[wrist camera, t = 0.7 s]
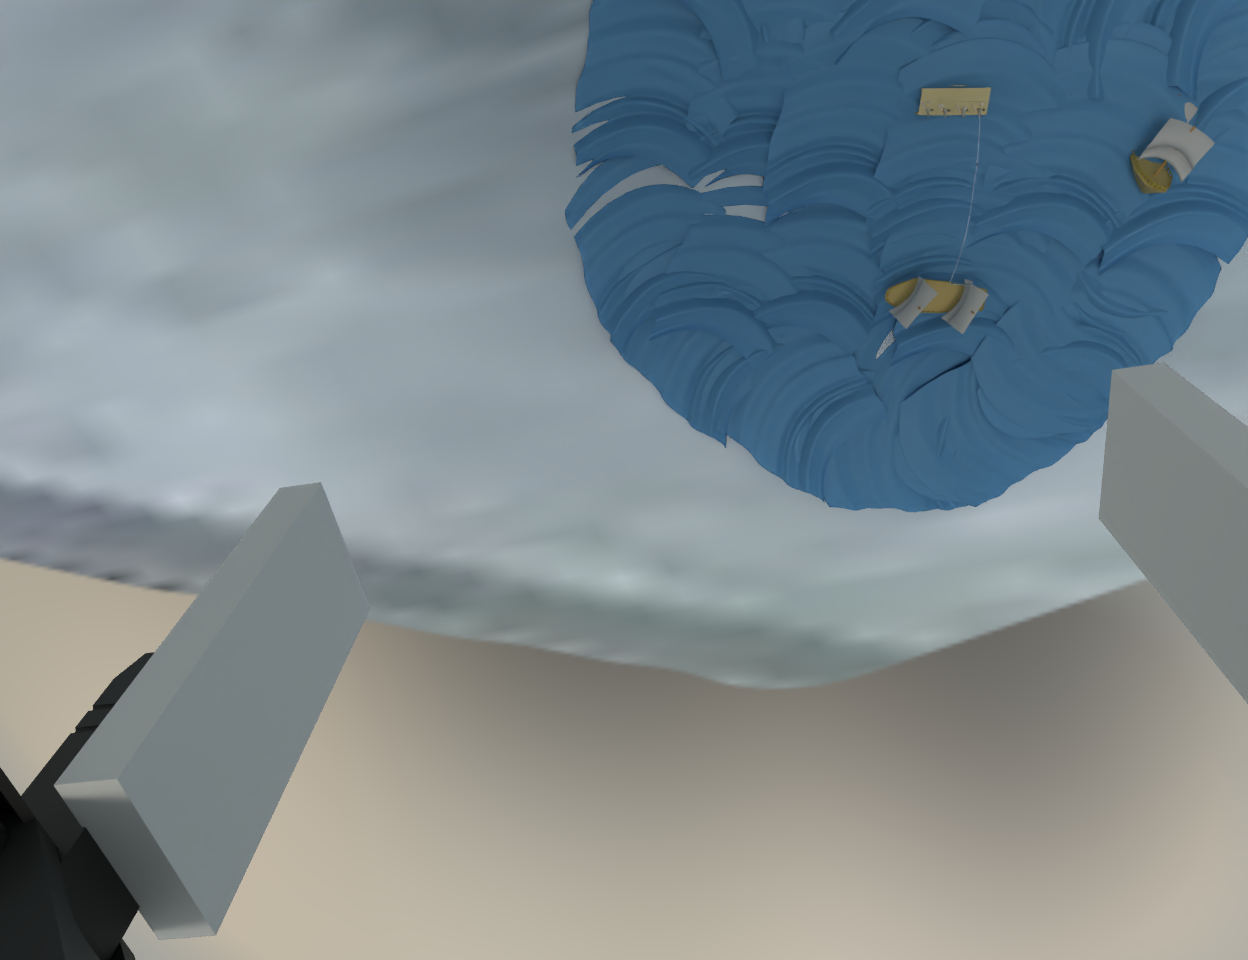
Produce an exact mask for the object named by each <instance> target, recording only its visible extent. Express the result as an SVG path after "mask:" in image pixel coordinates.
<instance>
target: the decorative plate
mask: <svg viewBox="0 0 1248 960" xmlns="http://www.w3.org/2000/svg"><path fill="white" fill-rule="evenodd" d="M623 96H626V97H625V98H622V99H618V100H615V101H613V102H611V103H609V104H606V105H604V106H602V107H600V108H598V109H596V110H594V111H592V112H591V113H590V114H588V115H587V116H586V117H584V118H583V119H582V120H580V121H579V122H578V123H577V124H575V125H574V126H573V128H572V133H574V132H576V131H578V130H581V129H583V128H585V127H587V126H590V125H592V124H595V123H598V122H602V121H606V120H609V121H608V122H607V123H605V124H603V125H602V126H600V127H598V128H596V129H594V130H593V131H592V132H590V133H589V134H588V135H586V136H585V137H584V138H582V139H581V140H580V141H578V142H577V143H576V144H574V148H575V151H576V156H577V162H576V166H577V165H580V164H583V163H585V162H588V161H590V160H593V161H592V162H591V163H590V164H589V165H588V166H587V167H586V168H585V169H584V170H583V171H582V172H581V173H580V174H582V173H583V172H584V171H585V170H586V171H587V170H588V169H590V168H591V167H593V166H595V165H596V164H598V163H601V162H603V161H604V162H603V163H602V164H600V165H599V166H598V167H597V168H595V169H594V171H593V172H592V173H591V174H590V175H589V176H588V178H587V179H586V180H585V181H584V182H583V184H582V185H581V186H580V187H579V189H578V190H577V192H576V194H575V195H574V197H573V198H572V200H571V202H570V203H569V205H568V207H567V208H566V210H565V216H566V221H567V224H568V226H569V228H570V230H571V229H572V228H573V227H574V225H575V224H576V223H577V222H578V221H579V220H580V218H581V217H582V216H583V215H584V214H585V212H586V211H587V210H588V209H589V208H590V207H591V206H592V205H593V204H594V203H595V202H596V201H597V200H598V199H599V198H600V197H601V196H602V195H603V194H604V193H606V192H607V191H608V190H610V189H611V188H612V187H614V186H615V185H616V184H618V183H619V182H621V181H622V180H624V179H625V178H627V177H629V176H631V175H633V174H635V173H637V172H639V171H641V170H644V169H647V168H649V167H653V166H657V165H661V164H662V165H663V166H665V167H666V168H668V169H669V170H671V171H672V172H674V173H675V174H677V175H678V176H679V177H680V178H681V179H683V180H684V181H685V182H686V183H687V184H688V185H689V186H690V187H691V188H692V187H695V186H696V185H697V184H698V183H699V182H700V181H701V180H702V178H703V177H705V176H707V175H709V174H712V173H714V172H717V171H720V170H725V171H724V172H723V173H722V174H720V175H719V176H718V177H716V178H715V179H714V180H712V181H711V182H710V183H708V184H707V185H710V184H712V183H714V182H716V181H718V180H720V179H723V178H725V177H729V176H733V175H738V174H753V175H760V176H764V181H763V187H761V186H740V187H727V188H722V189H718V190H714V191H709V192H705V193H700V192H698V191H696V190H693V189H690V188H687V187H682V186H677V185H668V184H660V185H650V186H645V187H641V188H638V189H635V190H632V191H630V192H627V193H625V194H624V195H622V196H620V197H618V198H617V199H615V200H613V201H611V202H610V203H608V204H607V205H606V206H605V207H603V208H602V209H601V210H600V211H598V212H597V213H596V214H595V215H594V216H592V217H591V218H590V219H589V220H588V222H587V223H586V224H585V225H584V226H583V227H582V228H581V229H580V230H579V232H578V233H577V234H576V235H575V236H574V238H575V241H576V243H577V246H578V248H579V250H580V253H581V256H582V260H583V265H584V277H585V282H586V286H587V288H588V291H589V293H590V295H591V298H592V300H593V302H594V304H595V306H596V308H597V313H598V317H599V320H600V322H601V324H602V326H603V327H604V328H605V329H606V330H607V331H608V332H609V333H610V334H611V338H610V341H611V343H612V344H613V345H614V346H615V347H616V348H617V350H618V351H619V352H620V355H622V357H623V358H624V360H625V361H626V362H627V363H628V364H629V365H631V366H632V367H634V368H636V369H637V370H638V371H639V372H640V373H641V374H642V375H643V376H644V377H645V378H647V379H648V380H649V381H650V382H651V383H652V384H653V385H654V386H655V387H656V388H657V390H658V391H659V392H660V394H661V396H662V398H663V400H664V401H665V402H666V404H667V405H668V406H669V407H671V408H672V409H673V410H674V411H676V412H677V413H678V414H680V415H681V416H682V417H684V418H685V419H687V421H688V422H689V424H690V425H691V426H692V427H693V428H694V429H696V430H697V431H700V432H702V433H704V434H706V435H708V436H710V437H713V438H715V439H716V440H718V441H719V442H721V443H722V444H723V445H724V446H725V448H726V435H728V436H730V437H731V438H732V439H733V440H735V441H736V442H738V443H739V444H741V445H742V446H743V447H745V448H746V449H747V450H748V451H749V452H750V453H751V454H752V455H753V457H754V458H755V460H756V461H757V462H758V463H759V464H760V465H761V466H762V467H763V468H765V469H766V470H768V471H770V472H771V473H773V474H775V475H776V476H778V477H780V478H782V479H783V480H784V481H785V482H786V483H787V484H788V485H789V486H790V487H792V488H795V489H798V490H801V491H804V492H806V493H810V494H812V495H814V496H816V497H818V498H820V499H822V501H823V502H824V500H825V501H826V502H827V504H828V505H829V507H838V508H845V509H850V510H861V509H865V508H896V509H900V510H903V511H907V512H919V511H928V510H932V509H941V510H951V509H954V508H958V507H964V506H968V505H970V506H974V507H977V506H978V505H980V504H982V503H984V502H986V501H988V500H990V499H993V498H996V497H998V496H1000V495H1002V494H1003V493H1004V492H1005V491H1006V490H1007V488H1008V487H1009V486H1011V485H1012V484H1014V483H1016V482H1019V481H1021V480H1022V479H1024V478H1025V477H1026V476H1028V475H1029V474H1030V473H1032V472H1034V471H1036V470H1038V469H1041V468H1045V467H1048V466H1051V465H1053V464H1054V463H1056V462H1057V461H1058V460H1059V459H1061V458H1062V457H1063V456H1064V455H1065V454H1067V453H1068V452H1069V451H1070V450H1071V449H1072V448H1073V447H1074V446H1075V445H1076V444H1078V443H1082V442H1085V441H1087V440H1088V439H1089V438H1090V436H1091V435H1092V434H1093V433H1094V432H1095V431H1096V430H1098V429H1099V428H1101V427H1102V426H1103V424H1104V422H1105V421H1106V420H1107V419H1108V410H1109V398H1110V387H1111V376H1112V370H1115V369H1122V368H1129V367H1136V366H1143V365H1150V364H1154V362H1155V361H1156V360H1157V359H1158V358H1160V357H1161V356H1163V355H1165V354H1167V353H1169V352H1170V351H1172V349H1173V345H1174V343H1175V341H1176V340H1177V339H1178V338H1179V337H1180V336H1182V335H1183V334H1184V333H1185V332H1186V330H1187V329H1188V327H1189V326H1190V324H1191V322H1192V320H1193V318H1194V316H1195V315H1196V313H1197V312H1198V311H1199V309H1200V308H1201V307H1202V306H1203V305H1204V304H1205V302H1206V301H1207V300H1208V299H1209V298H1210V297H1211V295H1212V294H1213V292H1214V289H1215V285H1216V282H1217V279H1218V276H1219V273H1220V270H1221V266H1220V263H1219V261H1218V259H1217V257H1219V258H1220V259H1222V260H1223V261H1224V262H1226V263H1227V264H1229V263H1230V261H1231V260H1232V259H1233V258H1234V256H1235V255H1236V254H1237V253H1238V252H1239V250H1240V249H1241V247H1242V246H1243V244H1244V242H1245V241H1246V239H1247V237H1248V0H593V3H592V6H591V9H590V15H589V37H588V51H587V57H586V62H585V66H584V69H583V71H582V74H581V76H580V79H579V81H578V85H577V91H576V104H575V112H578V111H580V110H583V109H585V108H587V107H589V106H591V105H594V104H596V103H599V102H602V101H606V100H609V99H612V98H616V97H623ZM723 139H724V140H723ZM722 140H723V141H722ZM605 160H606V161H605ZM586 171H585V172H586ZM585 172H584V173H585ZM580 174H579V175H580ZM579 175H578V176H579ZM578 176H577V177H578ZM577 177H576V178H577ZM579 177H580V176H579ZM707 185H706V186H705V187H707ZM735 205H758V206H768V210H767V214H766V219H765V222H763V221H760V220H755V219H751V218H746V217H742V216H731V215H726V210H725V209H724V208H723V207H724V206H735ZM786 212H789V213H787V214H785V215H783V214H784V213H786ZM703 214H715V215H703ZM781 215H783V216H781ZM779 216H781V217H779ZM778 217H779V218H778ZM1216 256H1217V257H1216ZM893 328H894V331H893V335H894V337H895V341H894V342H893V343H892V344H891V345H890V346H889V347H888V348H887V349H886V350H885V351H884V352H883V353H882V354H881V355H880V356H879V358H877V359H876V354H877V352H878V350H879V348H880V346H881V344H882V342H883V341H884V339H885V338H886V336H887V335H888V334H889V332H890V331H891V330H892V329H893ZM824 503H825V502H824Z"/></svg>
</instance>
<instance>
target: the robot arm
mask: <svg viewBox="0 0 1248 960" xmlns="http://www.w3.org/2000/svg"><path fill="white" fill-rule="evenodd" d="M1099 519H1100V521H1101V522H1102V523H1103V524H1104V526H1105V527H1106V528H1107V529H1108V531H1109V532H1110V533H1111V534H1112V536H1113V537H1114V538H1115V539H1116V540H1117V542H1118V543H1119V544H1120V545H1121V547H1122V548H1123V549H1124V550H1125V552H1126V553H1127V554H1128V555H1129V557H1130V558H1131V559H1132V560H1133V562H1134V563H1135V564H1136V565H1137V567H1138V568H1139V569H1140V570H1141V572H1142V573H1143V574H1144V575H1145V577H1146V578H1147V579H1148V580H1149V582H1150V583H1151V584H1152V585H1153V587H1154V588H1155V589H1156V590H1157V592H1158V593H1159V594H1160V595H1161V596H1162V598H1163V599H1164V600H1165V601H1166V603H1167V604H1168V605H1169V606H1170V608H1171V609H1172V610H1173V611H1174V613H1175V614H1176V615H1177V616H1178V618H1179V619H1180V620H1181V621H1182V623H1183V624H1184V625H1185V626H1186V628H1187V629H1188V630H1189V631H1190V633H1191V634H1192V635H1193V636H1194V638H1195V639H1196V640H1197V641H1198V642H1199V644H1200V645H1201V646H1202V648H1203V649H1204V650H1205V651H1206V653H1207V654H1208V655H1209V656H1210V657H1211V659H1212V660H1213V661H1214V662H1215V664H1216V665H1217V666H1218V667H1219V669H1220V670H1221V671H1222V672H1223V673H1224V675H1225V676H1226V677H1227V679H1228V680H1229V681H1230V682H1231V684H1232V685H1233V686H1234V687H1235V689H1236V690H1237V691H1238V692H1239V694H1240V695H1241V696H1242V697H1243V699H1244V700H1245V701H1246V702H1247V704H1248V427H1247V426H1246V425H1244V424H1243V423H1242V422H1241V421H1239V420H1238V419H1237V418H1235V417H1234V416H1233V415H1231V414H1230V413H1229V412H1227V411H1226V410H1225V409H1224V408H1222V407H1221V406H1220V405H1218V404H1217V403H1216V402H1214V401H1213V400H1212V399H1211V398H1209V397H1208V396H1207V395H1205V394H1204V393H1203V392H1201V391H1200V390H1199V389H1198V388H1196V387H1195V386H1194V385H1192V384H1191V383H1190V382H1188V381H1187V380H1186V379H1185V378H1183V377H1182V376H1181V375H1179V374H1178V373H1177V372H1175V371H1174V370H1173V369H1172V368H1170V367H1169V366H1168V365H1166V364H1165V363H1157V364H1150V365H1143V366H1136V367H1129V368H1122V369H1115V370H1112V376H1111V387H1110V398H1109V410H1108V421H1107V432H1106V443H1105V455H1104V466H1103V477H1102V488H1101V500H1100V511H1099ZM369 610H370V606H369V604H368V601H367V599H366V596H365V594H364V591H363V588H362V586H361V583H360V581H359V578H358V576H357V573H356V571H355V568H354V565H353V563H352V560H351V558H350V555H349V553H348V550H347V547H346V545H345V542H344V540H343V537H342V535H341V532H340V530H339V527H338V524H337V522H336V519H335V517H334V514H333V512H332V509H331V507H330V504H329V501H328V499H327V496H326V494H325V491H324V489H323V486H322V483H321V482H320V483H313V484H305V485H298V486H291V487H284V488H280V489H279V490H278V491H277V493H276V494H275V495H274V496H273V498H272V499H271V500H270V502H269V503H268V504H267V506H266V507H265V508H264V510H263V511H262V512H261V514H260V515H259V516H258V517H257V519H256V520H255V521H254V523H253V524H252V525H251V527H250V528H249V529H248V531H247V532H246V533H245V535H244V536H243V537H242V539H241V540H240V541H239V542H238V544H237V545H236V546H235V548H234V549H233V550H232V552H231V553H230V554H229V556H228V557H227V558H226V560H225V561H224V562H223V563H222V565H221V566H220V567H219V569H218V570H217V571H216V573H215V574H214V575H213V577H212V578H211V579H210V581H209V582H208V583H207V584H206V586H205V587H204V588H203V590H202V591H201V592H200V594H199V595H198V596H197V598H196V599H195V600H194V602H193V603H192V604H191V606H190V607H189V608H188V609H187V611H186V612H185V613H184V615H183V616H182V617H181V619H180V620H179V621H178V623H177V624H176V625H175V627H174V628H173V629H172V630H171V632H170V633H169V634H168V636H167V637H166V639H165V640H164V641H163V642H162V644H161V645H160V646H159V648H158V649H157V650H156V652H154V653H146V654H144V655H143V656H142V657H141V658H139V659H138V660H137V661H136V662H134V663H133V664H132V665H130V666H129V667H128V668H127V669H126V670H124V671H123V672H122V673H120V674H119V675H118V676H117V677H115V678H114V679H113V681H112V682H111V683H110V684H109V686H108V687H107V688H106V689H105V691H104V692H103V693H102V694H101V696H100V697H99V699H98V700H97V701H96V702H95V704H94V705H93V711H88V712H87V713H86V715H85V716H84V717H83V718H82V720H81V721H80V722H79V724H78V725H77V726H76V727H75V728H76V732H75V733H71V734H70V735H69V736H68V737H67V739H66V740H65V741H64V743H63V744H62V745H61V746H60V748H59V749H58V750H57V751H56V753H55V754H54V755H53V757H52V758H51V759H50V760H49V761H48V763H47V764H46V765H45V767H44V768H43V769H42V771H41V772H40V773H39V774H38V776H37V777H36V778H35V779H34V781H33V782H32V783H31V784H30V786H29V787H28V788H27V789H26V791H25V792H24V793H23V794H22V796H20V795H19V793H18V792H17V790H16V789H15V787H14V786H13V785H12V783H11V782H10V780H9V779H8V778H7V776H6V775H5V773H4V772H3V771H2V769H1V768H0V960H135V957H134V955H133V953H132V952H131V950H130V949H129V947H128V946H127V945H126V943H125V942H124V940H123V939H122V937H123V936H124V934H125V932H126V930H127V929H128V927H129V925H130V923H131V921H132V920H133V918H134V916H135V915H136V913H137V911H138V910H139V911H140V913H141V914H142V916H143V917H144V919H145V920H146V922H147V923H148V925H149V926H150V927H151V929H152V931H153V932H154V933H155V935H156V936H157V938H158V939H159V940H163V939H176V938H190V937H202V936H215V935H216V934H217V932H218V929H219V927H220V925H221V923H222V921H223V919H224V917H225V915H226V912H227V910H228V908H229V906H230V904H231V902H232V900H233V897H234V896H235V893H236V891H237V889H238V887H239V885H240V883H241V881H242V879H243V876H244V874H245V872H246V870H247V868H248V866H249V864H250V862H251V860H252V857H253V855H254V853H255V851H256V849H257V847H258V845H259V843H260V840H261V838H262V836H263V834H264V832H265V830H266V828H267V826H268V823H269V821H270V819H271V817H272V815H273V813H274V811H275V809H276V807H277V804H278V802H279V800H280V798H281V796H282V794H283V792H284V790H285V787H286V785H287V783H288V781H289V779H290V777H291V775H292V773H293V771H294V768H295V766H296V764H297V762H298V760H299V758H300V755H301V754H302V751H303V749H304V747H305V745H306V743H307V741H308V739H309V737H310V735H311V732H312V730H313V728H314V726H315V724H316V722H317V720H318V718H319V715H320V713H321V711H322V709H323V707H324V705H325V703H326V701H327V699H328V696H329V694H330V692H331V690H332V688H333V686H334V684H335V682H336V680H337V677H338V675H339V673H340V671H341V669H342V667H343V664H344V663H345V660H346V658H347V656H348V654H349V652H350V650H351V648H352V646H353V644H354V641H355V639H356V637H357V635H358V633H359V631H360V629H361V626H362V624H363V622H364V620H365V618H366V616H367V614H368V612H369Z"/></svg>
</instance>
